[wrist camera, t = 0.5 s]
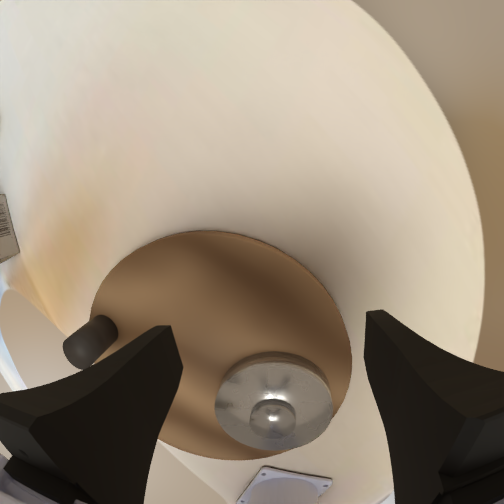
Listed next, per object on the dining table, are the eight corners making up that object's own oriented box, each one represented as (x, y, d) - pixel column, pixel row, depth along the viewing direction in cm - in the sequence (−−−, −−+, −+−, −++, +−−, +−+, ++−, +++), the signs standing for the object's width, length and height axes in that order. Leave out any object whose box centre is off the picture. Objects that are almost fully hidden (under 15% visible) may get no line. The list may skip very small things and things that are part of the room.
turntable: (285, 469, 24) (283, 512, 19) (92, 396, 25) (64, 429, 20) (395, 291, 19) (426, 325, 14) (121, 191, 20) (74, 197, 15)
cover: (302, 442, 21) (302, 468, 19) (208, 414, 22) (199, 440, 19) (349, 370, 20) (356, 396, 17) (239, 335, 20) (231, 359, 17)
